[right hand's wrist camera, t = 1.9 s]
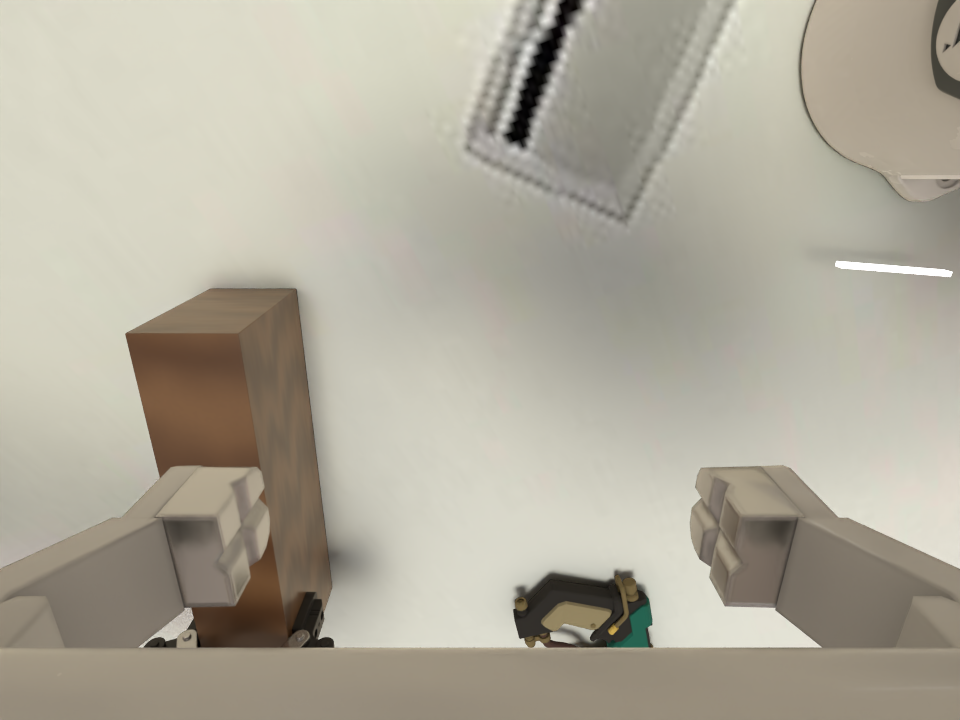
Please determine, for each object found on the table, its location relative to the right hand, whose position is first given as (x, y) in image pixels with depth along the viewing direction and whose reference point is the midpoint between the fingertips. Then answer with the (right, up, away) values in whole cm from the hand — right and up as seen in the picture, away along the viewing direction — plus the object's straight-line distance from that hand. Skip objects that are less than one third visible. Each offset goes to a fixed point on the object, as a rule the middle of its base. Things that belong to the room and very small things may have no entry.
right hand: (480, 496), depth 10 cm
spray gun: (+10, -23, +40) cm, 47 cm away
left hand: (-16, -15, +31) cm, 38 cm away
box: (-16, -5, +33) cm, 37 cm away
